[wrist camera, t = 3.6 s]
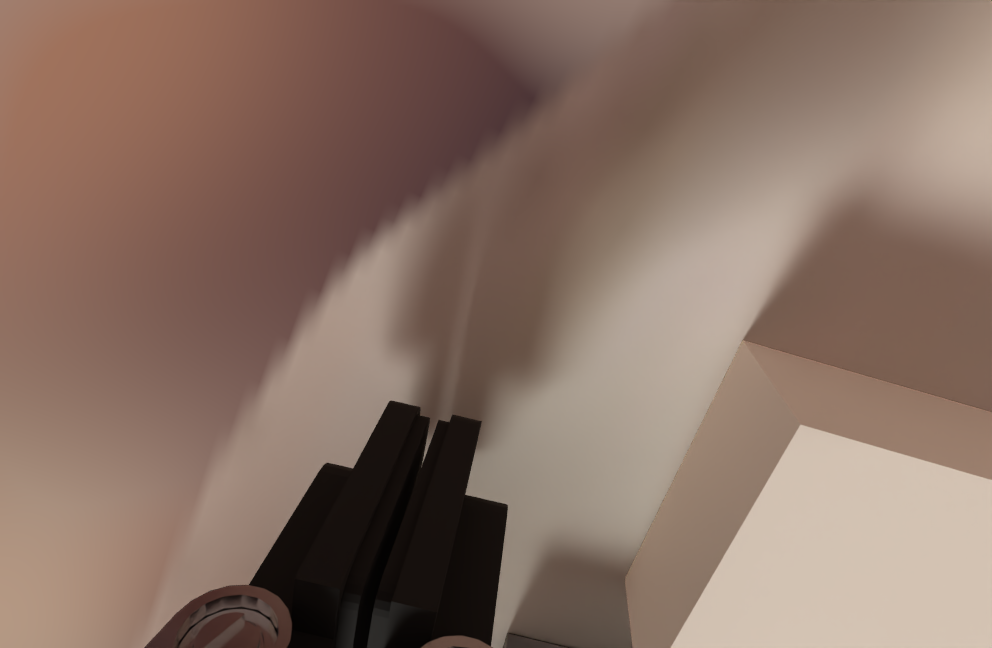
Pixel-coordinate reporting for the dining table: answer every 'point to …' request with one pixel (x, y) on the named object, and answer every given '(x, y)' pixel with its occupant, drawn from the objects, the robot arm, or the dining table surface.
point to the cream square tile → (821, 518)
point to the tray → (526, 643)
